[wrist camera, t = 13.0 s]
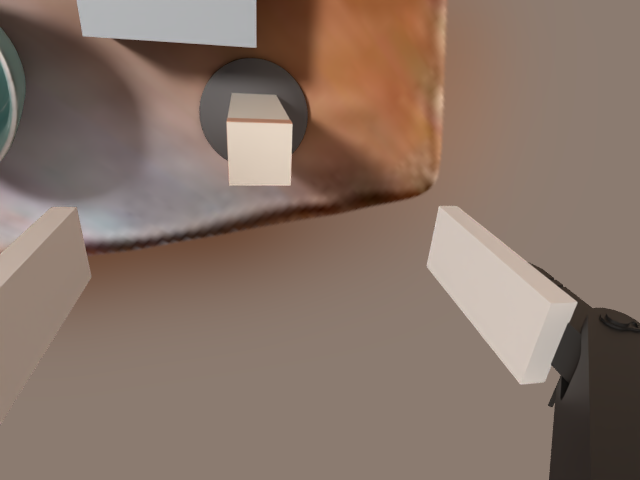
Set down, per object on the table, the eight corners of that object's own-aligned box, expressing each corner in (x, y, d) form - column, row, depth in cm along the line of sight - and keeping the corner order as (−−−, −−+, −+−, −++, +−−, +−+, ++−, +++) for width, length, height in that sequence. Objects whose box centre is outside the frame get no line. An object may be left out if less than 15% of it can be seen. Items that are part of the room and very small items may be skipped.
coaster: (203, 166, 40) (202, 167, 40) (196, 54, 36) (195, 54, 35) (304, 168, 42) (305, 169, 41) (309, 61, 37) (310, 61, 37)
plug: (233, 137, 39) (228, 185, 26) (231, 92, 37) (226, 121, 25) (275, 138, 40) (290, 185, 27) (276, 94, 38) (292, 123, 25)
